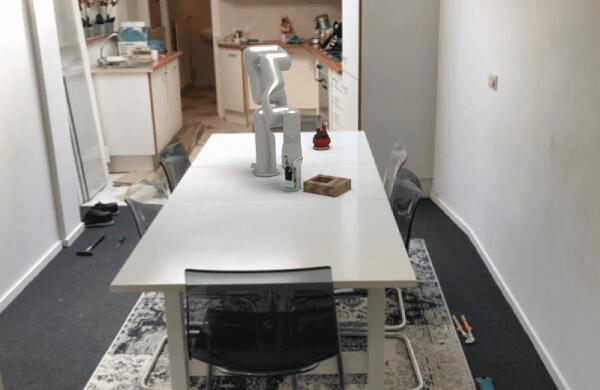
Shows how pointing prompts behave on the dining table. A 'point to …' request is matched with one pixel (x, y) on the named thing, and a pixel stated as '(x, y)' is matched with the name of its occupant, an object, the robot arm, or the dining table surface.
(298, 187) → the syrup box
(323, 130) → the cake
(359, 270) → the dining table surface
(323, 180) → the frame
